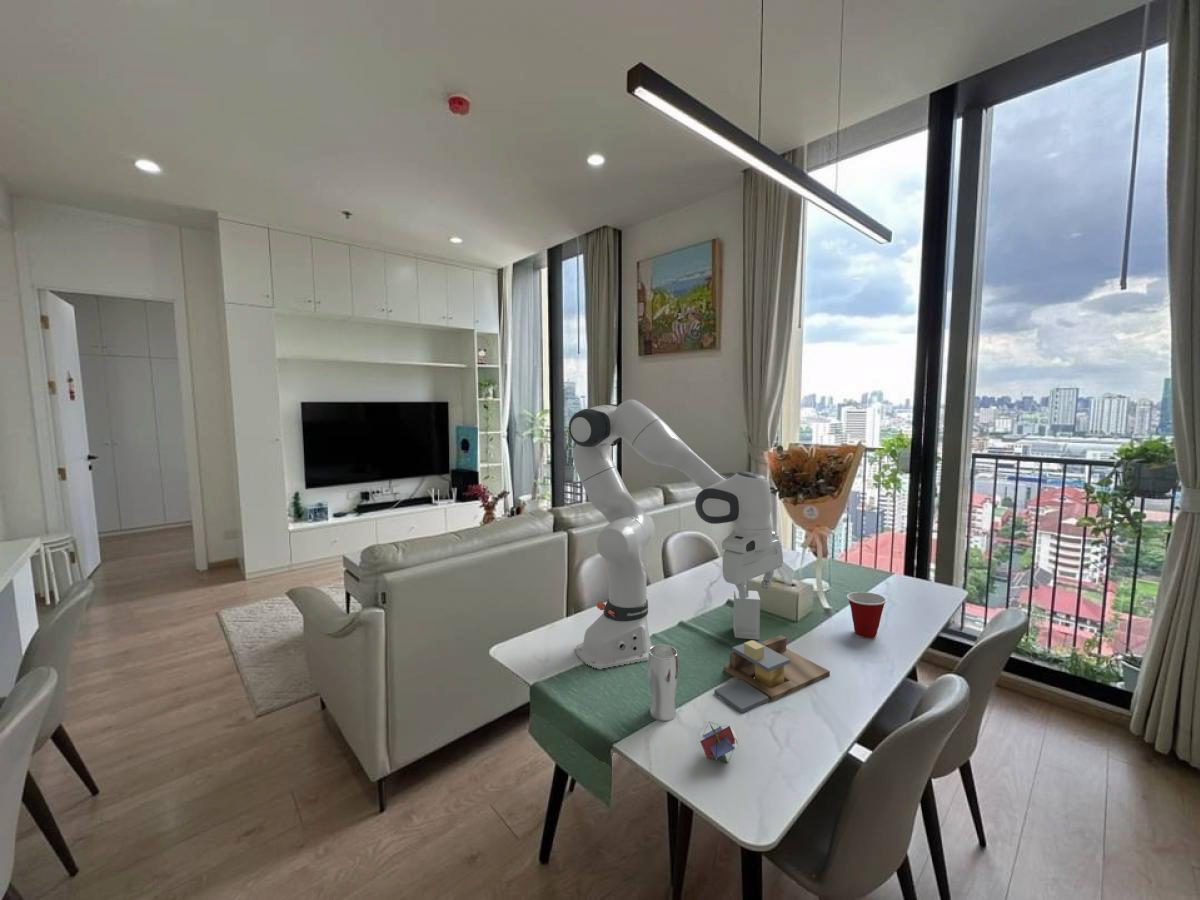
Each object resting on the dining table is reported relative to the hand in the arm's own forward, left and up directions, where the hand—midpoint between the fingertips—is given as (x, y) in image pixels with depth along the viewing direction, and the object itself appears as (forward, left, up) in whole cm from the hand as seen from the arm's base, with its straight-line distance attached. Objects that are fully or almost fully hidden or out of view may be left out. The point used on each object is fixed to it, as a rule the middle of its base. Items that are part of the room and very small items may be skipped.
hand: (755, 592), depth 121 cm
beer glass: (-26, +3, -25) cm, 36 cm away
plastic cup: (+51, +2, -25) cm, 57 cm away
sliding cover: (+5, +2, -19) cm, 20 cm away
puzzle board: (+10, +1, -25) cm, 27 cm away
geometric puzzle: (-25, -14, -25) cm, 38 cm away
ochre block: (+5, -1, -25) cm, 25 cm away
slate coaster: (-6, -2, -25) cm, 25 cm away
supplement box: (+20, +21, -25) cm, 38 cm away
